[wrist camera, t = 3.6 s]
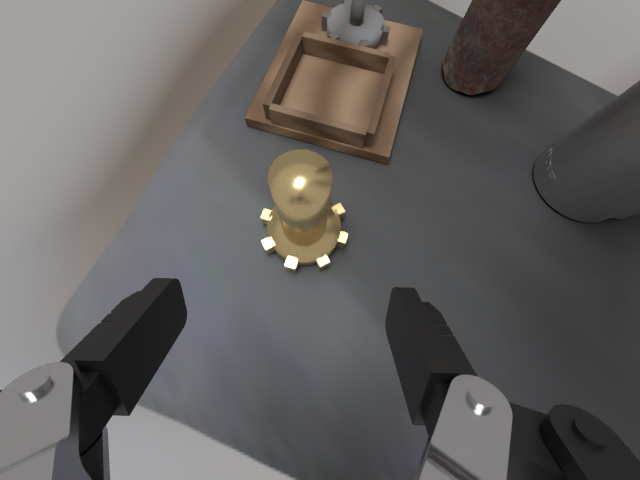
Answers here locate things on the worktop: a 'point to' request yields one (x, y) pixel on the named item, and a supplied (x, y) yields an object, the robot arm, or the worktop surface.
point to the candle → (492, 41)
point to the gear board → (338, 79)
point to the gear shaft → (302, 211)
